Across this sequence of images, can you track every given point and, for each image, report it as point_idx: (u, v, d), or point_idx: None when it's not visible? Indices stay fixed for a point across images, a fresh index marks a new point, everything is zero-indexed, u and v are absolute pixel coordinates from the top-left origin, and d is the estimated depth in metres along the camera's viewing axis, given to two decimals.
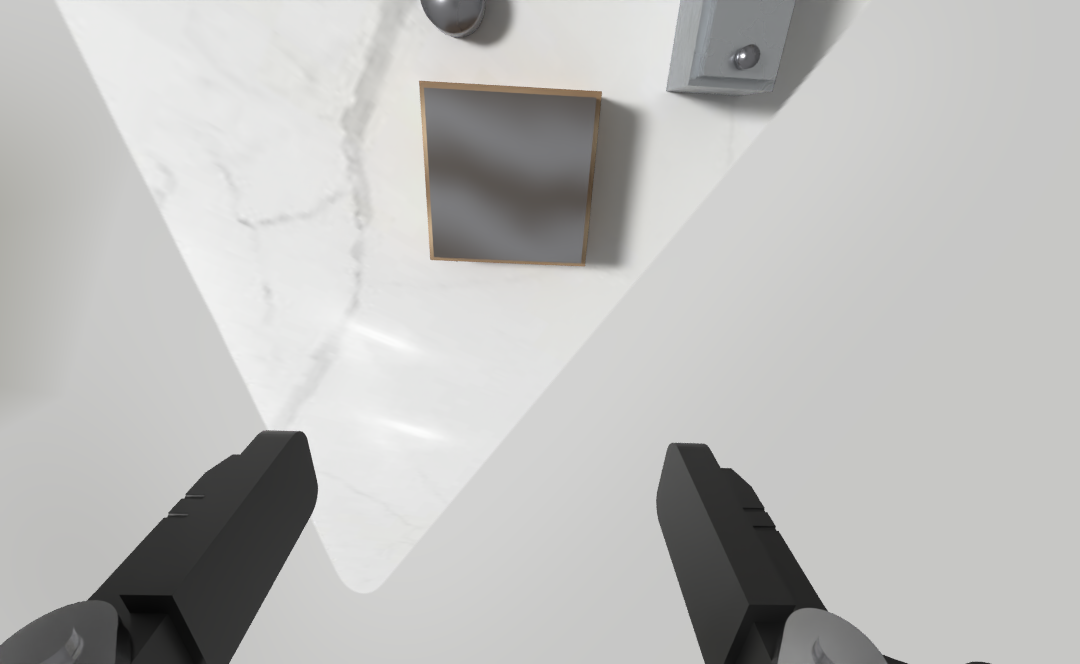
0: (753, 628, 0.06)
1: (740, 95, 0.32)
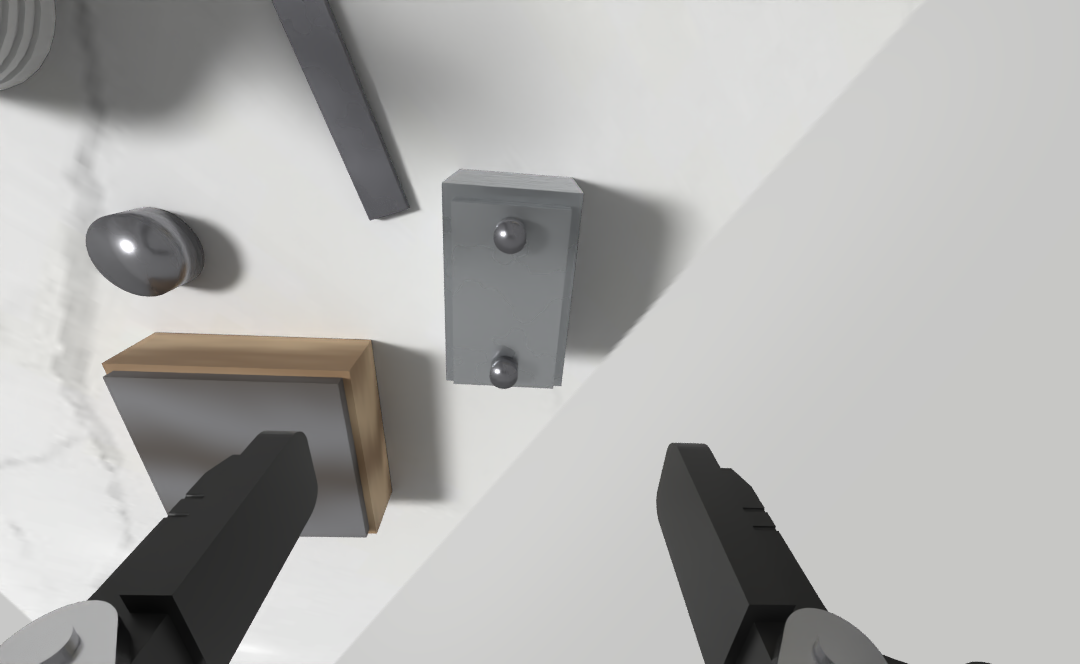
0: (753, 629, 0.06)
1: None
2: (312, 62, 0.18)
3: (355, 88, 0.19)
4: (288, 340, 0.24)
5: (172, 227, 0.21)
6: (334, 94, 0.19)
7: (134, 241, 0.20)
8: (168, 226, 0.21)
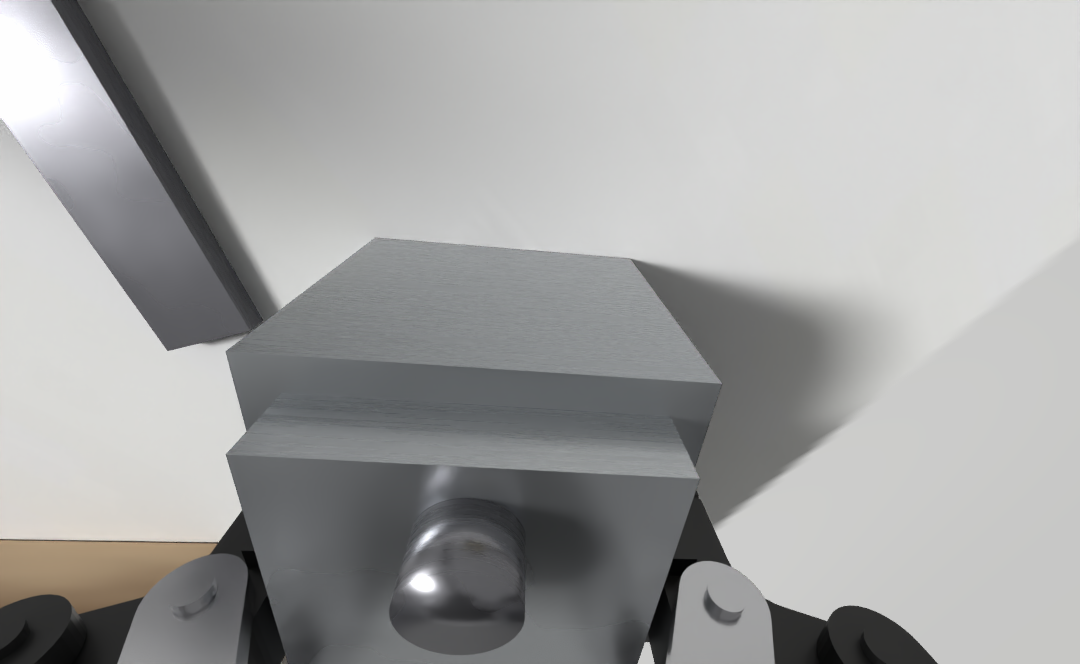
0: None
1: None
2: None
3: (70, 47, 0.07)
4: (62, 552, 0.13)
5: None
6: (16, 62, 0.07)
7: None
8: None
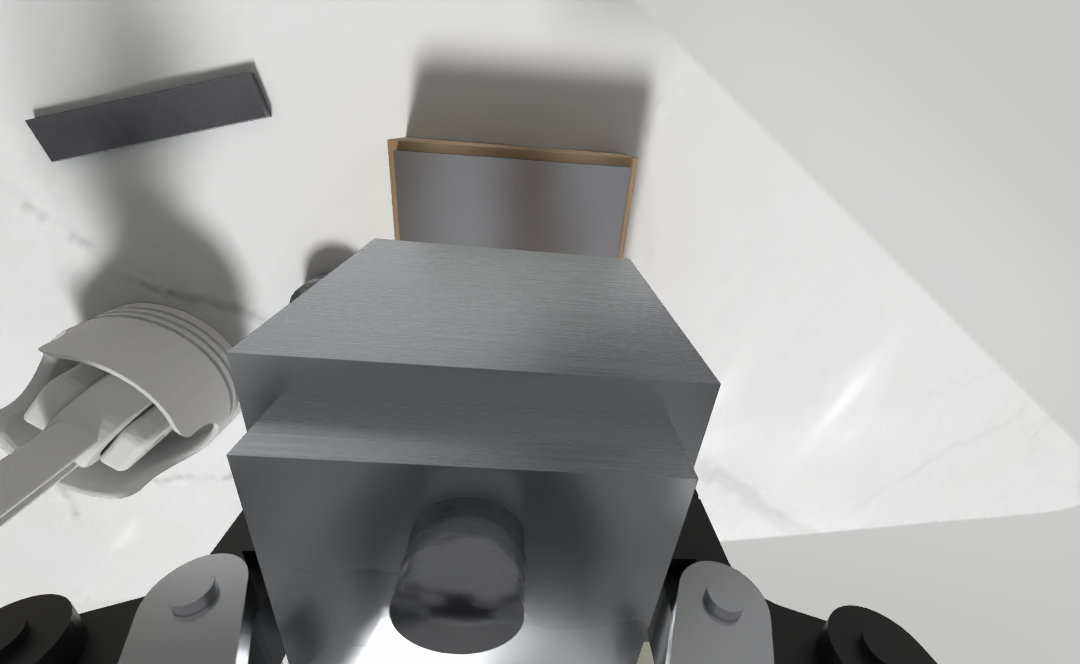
0: None
1: None
2: (138, 131, 0.22)
3: (147, 97, 0.22)
4: None
5: (305, 283, 0.26)
6: (158, 118, 0.22)
7: None
8: None
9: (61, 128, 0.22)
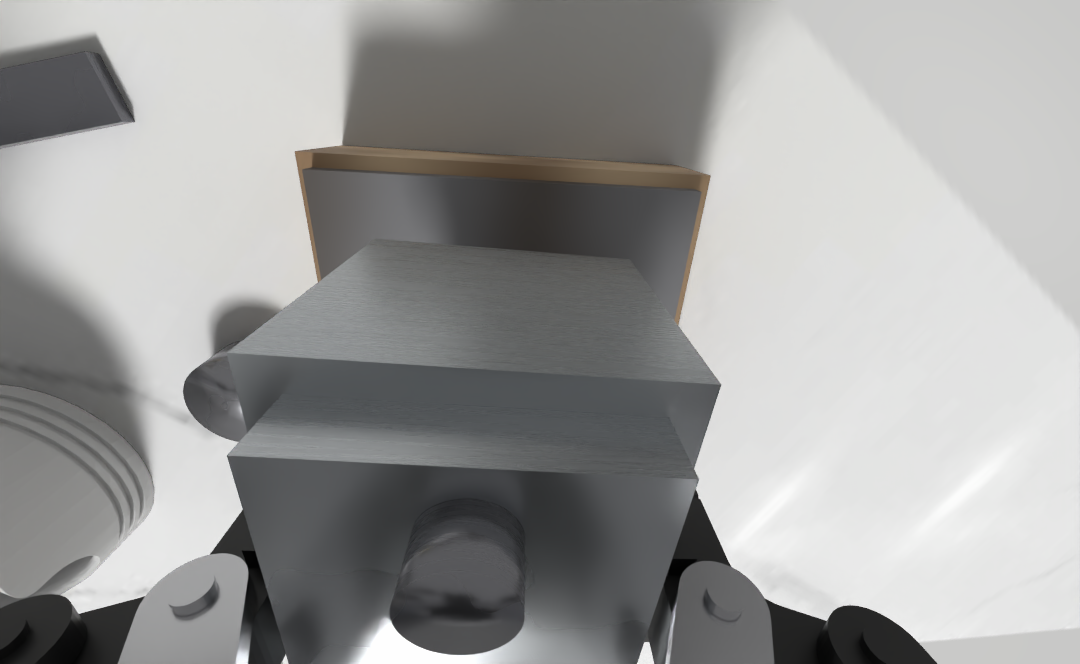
0: None
1: None
2: None
3: None
4: None
5: (208, 359, 0.18)
6: None
7: (213, 396, 0.18)
8: (205, 362, 0.18)
9: None
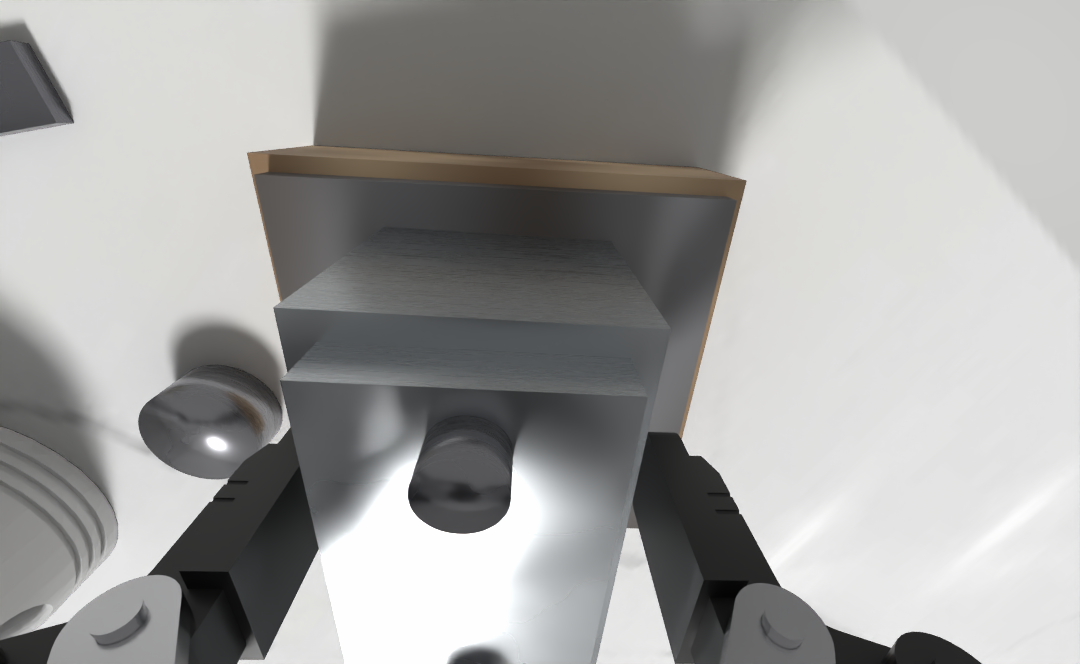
0: (709, 604, 0.07)
1: None
2: None
3: None
4: None
5: None
6: None
7: (173, 430, 0.16)
8: (164, 390, 0.16)
9: None
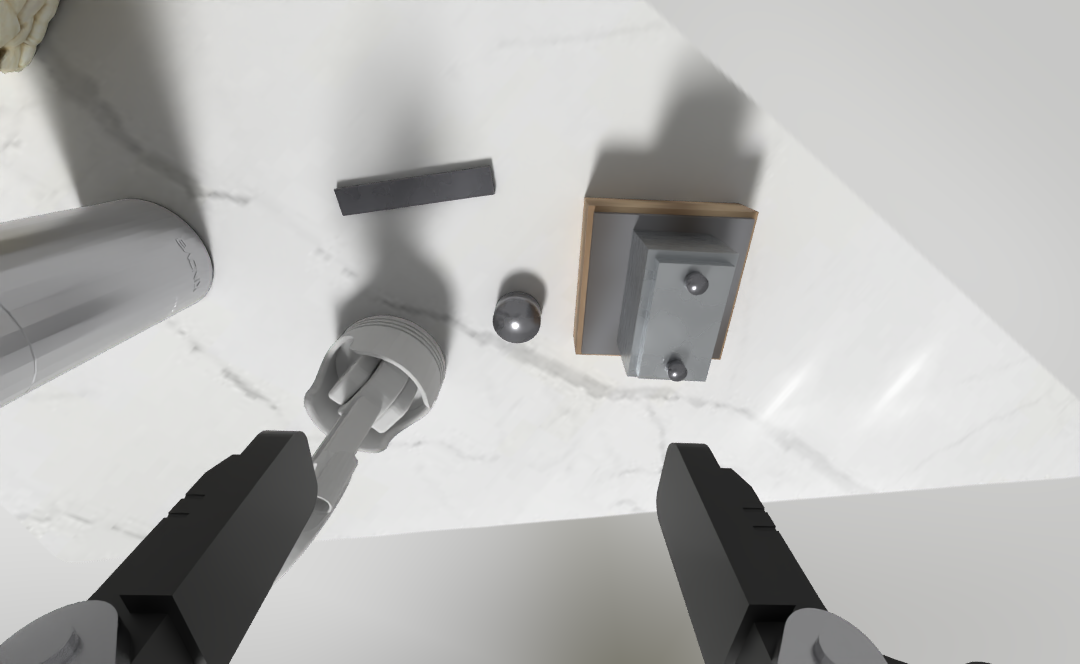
0: (754, 629, 0.06)
1: None
2: (406, 199, 0.33)
3: (418, 178, 0.32)
4: (580, 255, 0.35)
5: (502, 300, 0.36)
6: (421, 192, 0.33)
7: (507, 318, 0.36)
8: (501, 301, 0.36)
9: (355, 195, 0.33)
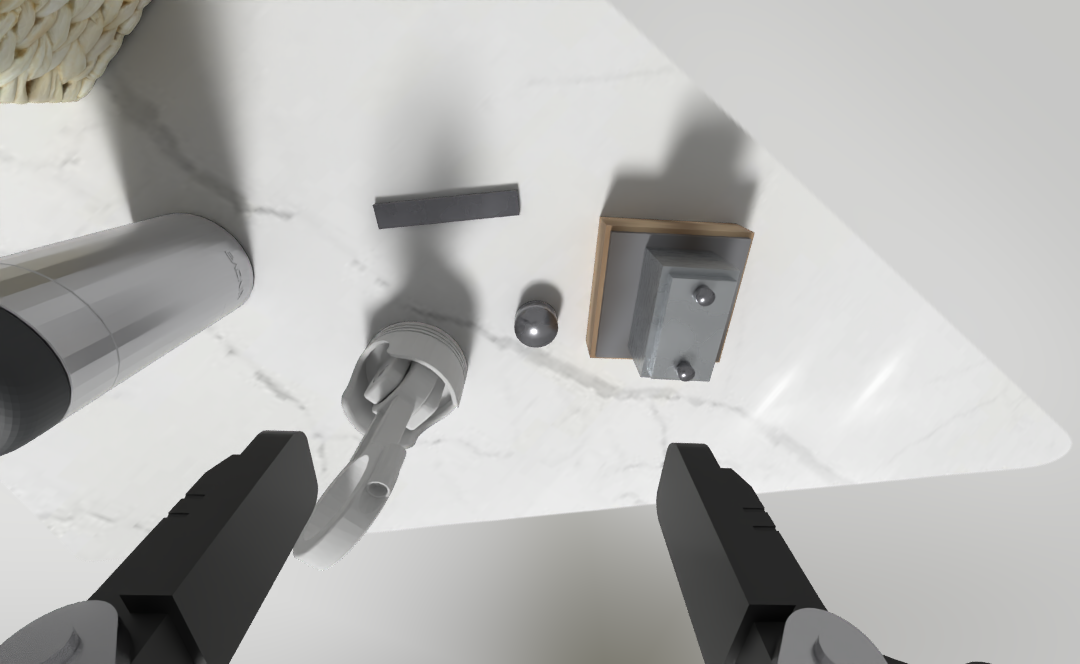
0: (753, 629, 0.06)
1: None
2: (439, 216, 0.36)
3: (451, 198, 0.36)
4: (594, 268, 0.39)
5: (522, 308, 0.40)
6: (453, 210, 0.36)
7: (527, 324, 0.39)
8: (522, 309, 0.40)
9: (392, 211, 0.36)
